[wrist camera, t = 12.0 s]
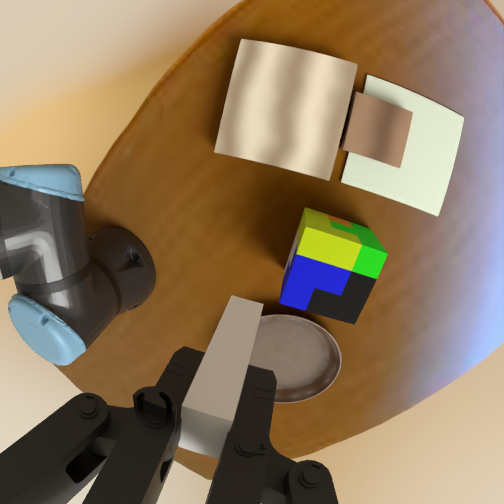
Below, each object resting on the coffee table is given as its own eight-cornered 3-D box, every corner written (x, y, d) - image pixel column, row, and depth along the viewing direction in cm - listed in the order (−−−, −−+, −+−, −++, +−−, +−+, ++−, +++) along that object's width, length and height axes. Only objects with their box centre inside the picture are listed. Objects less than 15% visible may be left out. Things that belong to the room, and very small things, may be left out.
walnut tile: (340, 149, 36) (343, 149, 34) (353, 94, 33) (356, 91, 31) (394, 166, 36) (399, 168, 33) (406, 113, 33) (413, 112, 30)
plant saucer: (243, 287, 47) (239, 298, 44) (360, 326, 46) (363, 338, 43) (214, 371, 55) (210, 383, 52) (310, 401, 54) (310, 413, 51)
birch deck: (221, 151, 39) (214, 152, 36) (246, 46, 33) (241, 38, 30) (326, 177, 38) (329, 180, 35) (353, 70, 32) (357, 64, 29)
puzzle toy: (284, 269, 44) (279, 303, 35) (304, 206, 41) (305, 226, 31) (345, 287, 44) (354, 324, 35) (369, 228, 40) (387, 253, 31)
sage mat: (340, 181, 38) (341, 182, 38) (367, 75, 32) (367, 74, 32) (436, 215, 37) (437, 216, 37) (462, 117, 31) (464, 117, 31)
